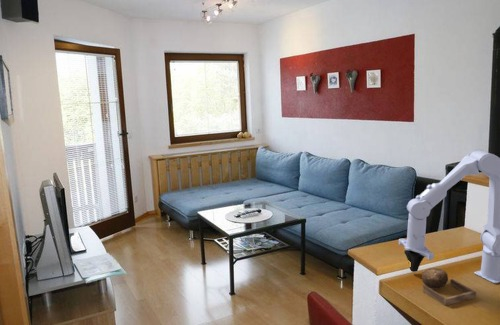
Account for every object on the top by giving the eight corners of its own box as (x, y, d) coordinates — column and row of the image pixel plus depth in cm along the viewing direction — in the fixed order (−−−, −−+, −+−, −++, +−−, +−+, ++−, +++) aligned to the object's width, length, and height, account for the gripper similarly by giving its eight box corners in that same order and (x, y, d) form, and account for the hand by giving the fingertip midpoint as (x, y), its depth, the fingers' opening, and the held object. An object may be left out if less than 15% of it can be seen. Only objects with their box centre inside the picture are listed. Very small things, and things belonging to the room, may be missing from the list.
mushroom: (447, 271, 132) (440, 260, 130) (455, 291, 125) (448, 279, 123) (423, 279, 135) (416, 268, 132) (430, 298, 128) (423, 287, 126)
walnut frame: (451, 284, 130) (452, 278, 130) (475, 297, 122) (476, 291, 121) (423, 291, 126) (423, 285, 125) (445, 305, 118) (445, 299, 117)
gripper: (392, 228, 140) (390, 264, 143) (422, 243, 127) (420, 282, 130) (408, 225, 143) (406, 260, 145) (439, 240, 129) (436, 278, 132)
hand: (413, 270), depth 138 cm, fingers closed
